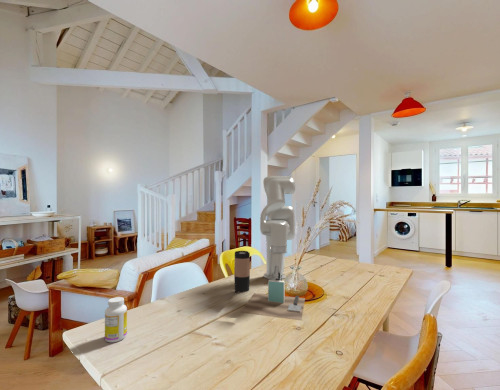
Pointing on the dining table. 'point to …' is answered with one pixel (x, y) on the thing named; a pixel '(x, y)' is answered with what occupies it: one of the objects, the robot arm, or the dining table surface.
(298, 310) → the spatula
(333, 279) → the dining table surface
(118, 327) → the supplement bottle
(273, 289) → the tile
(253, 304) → the board
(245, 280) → the travel mug
